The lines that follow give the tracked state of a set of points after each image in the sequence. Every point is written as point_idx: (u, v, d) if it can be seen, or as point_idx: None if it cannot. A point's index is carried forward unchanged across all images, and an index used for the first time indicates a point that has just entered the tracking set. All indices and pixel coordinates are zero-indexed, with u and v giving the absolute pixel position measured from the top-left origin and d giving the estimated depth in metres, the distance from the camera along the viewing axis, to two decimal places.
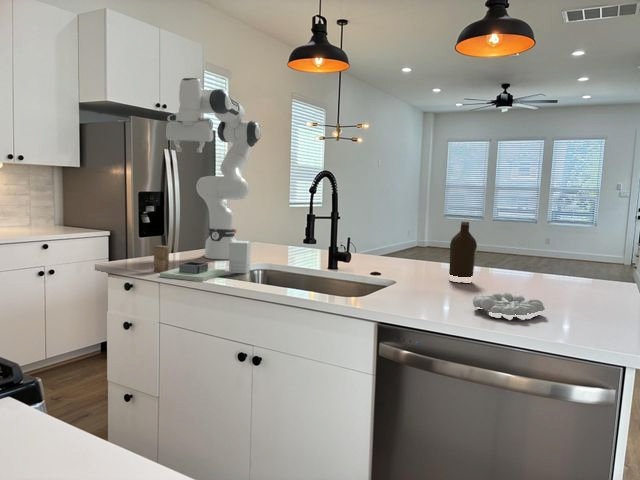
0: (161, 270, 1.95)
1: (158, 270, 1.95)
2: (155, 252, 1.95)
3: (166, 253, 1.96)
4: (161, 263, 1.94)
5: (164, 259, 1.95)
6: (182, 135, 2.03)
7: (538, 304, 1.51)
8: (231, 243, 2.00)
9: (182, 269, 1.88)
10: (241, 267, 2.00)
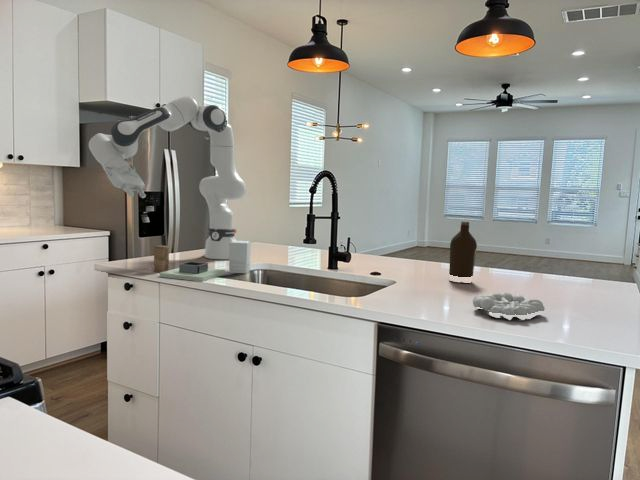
0: (161, 270, 1.95)
1: (158, 270, 1.95)
2: (155, 252, 1.95)
3: (166, 253, 1.96)
4: (161, 263, 1.94)
5: (164, 259, 1.95)
6: None
7: (538, 304, 1.51)
8: (231, 243, 2.00)
9: (182, 269, 1.88)
10: (241, 267, 2.00)
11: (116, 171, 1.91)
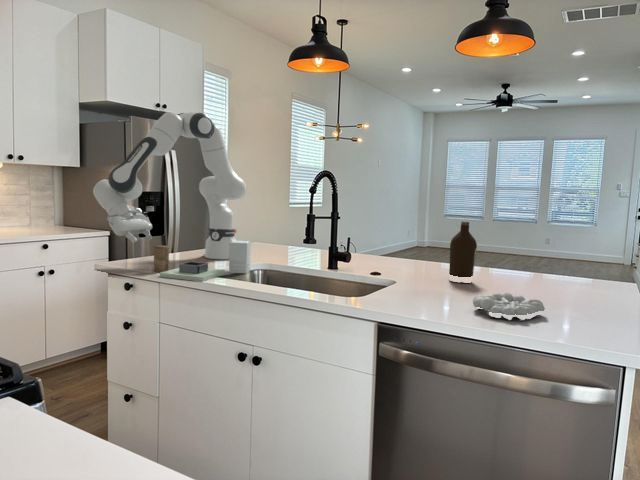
0: (161, 270, 1.95)
1: (158, 270, 1.95)
2: (155, 252, 1.95)
3: (166, 253, 1.96)
4: (161, 263, 1.94)
5: (164, 259, 1.95)
6: None
7: (538, 304, 1.51)
8: (231, 243, 2.00)
9: (182, 269, 1.88)
10: (241, 267, 2.00)
11: (118, 219, 1.91)
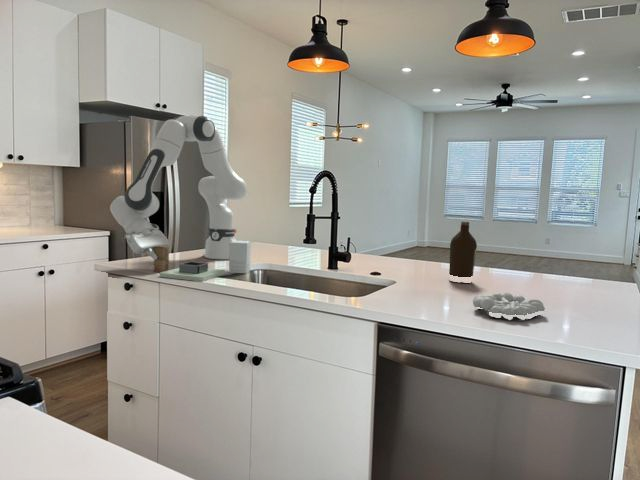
0: (161, 270, 1.95)
1: (158, 270, 1.95)
2: (155, 252, 1.95)
3: (166, 253, 1.96)
4: (161, 263, 1.94)
5: (164, 259, 1.95)
6: None
7: (538, 304, 1.51)
8: (231, 243, 2.00)
9: (182, 269, 1.88)
10: (241, 267, 2.00)
11: (136, 237, 1.90)
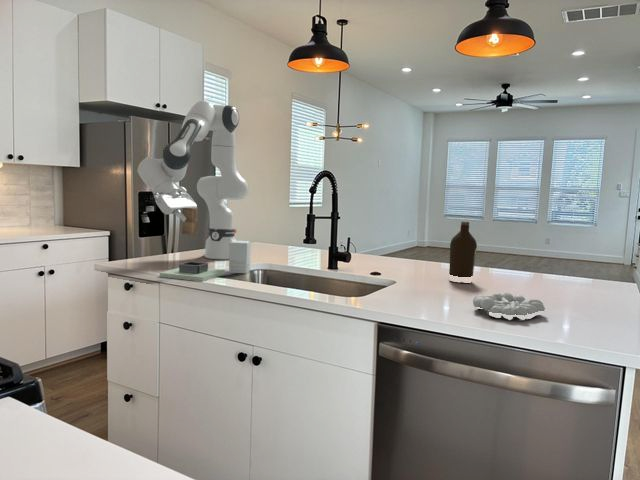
0: (190, 232, 1.89)
1: (187, 232, 1.89)
2: (184, 214, 1.89)
3: (195, 215, 1.90)
4: (190, 225, 1.88)
5: (193, 221, 1.89)
6: None
7: (538, 304, 1.51)
8: (231, 243, 2.00)
9: (182, 269, 1.88)
10: (241, 267, 2.00)
11: (165, 197, 1.84)
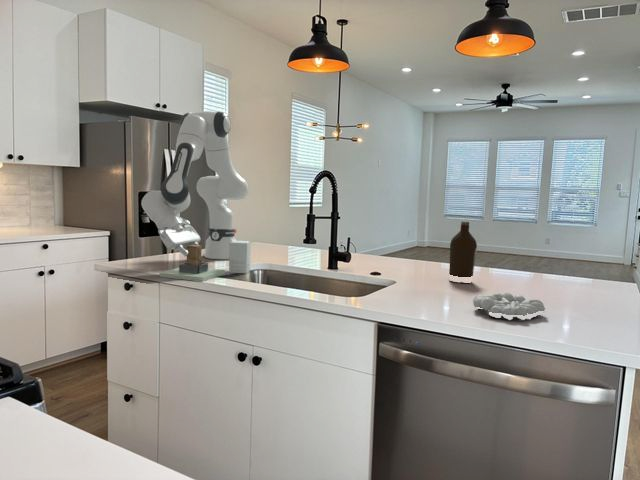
0: None
1: None
2: None
3: (199, 253, 1.91)
4: (194, 262, 1.89)
5: (197, 259, 1.90)
6: None
7: (538, 304, 1.51)
8: (231, 243, 2.00)
9: (182, 269, 1.88)
10: (241, 267, 2.00)
11: (169, 232, 1.84)
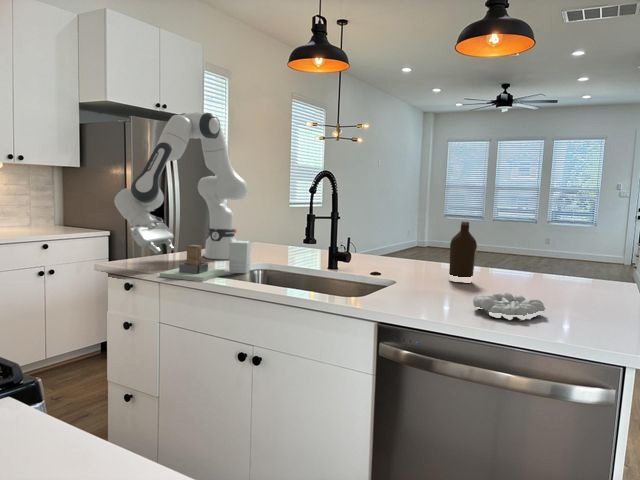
0: None
1: None
2: (188, 252, 1.90)
3: (199, 253, 1.91)
4: (194, 262, 1.89)
5: (197, 259, 1.90)
6: None
7: (538, 304, 1.51)
8: (231, 243, 2.00)
9: (182, 269, 1.88)
10: (241, 267, 2.00)
11: (140, 230, 1.88)
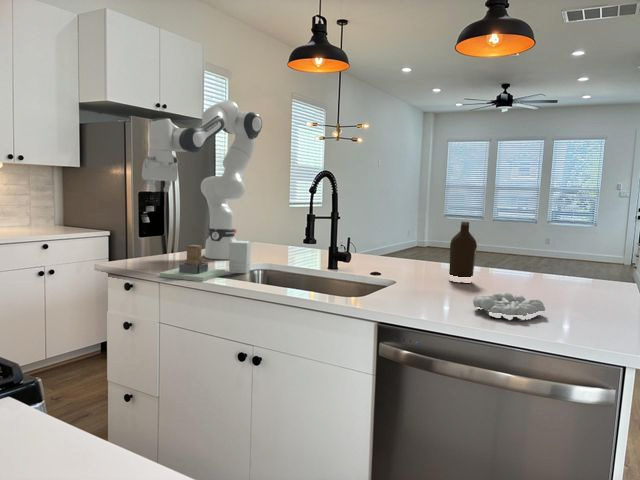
0: None
1: None
2: (188, 252, 1.90)
3: (199, 253, 1.91)
4: (194, 262, 1.89)
5: (197, 259, 1.90)
6: None
7: (538, 304, 1.51)
8: (231, 243, 2.00)
9: (182, 269, 1.88)
10: (241, 267, 2.00)
11: (152, 166, 1.95)
